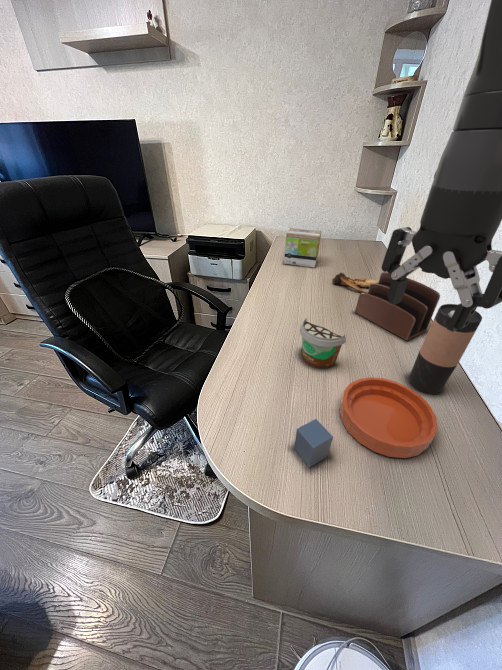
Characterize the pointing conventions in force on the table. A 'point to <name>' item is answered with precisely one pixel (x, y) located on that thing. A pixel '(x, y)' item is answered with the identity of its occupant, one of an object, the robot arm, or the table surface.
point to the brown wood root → (353, 282)
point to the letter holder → (399, 307)
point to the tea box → (302, 247)
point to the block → (312, 442)
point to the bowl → (388, 417)
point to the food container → (320, 345)
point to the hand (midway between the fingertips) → (421, 314)
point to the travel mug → (441, 351)
